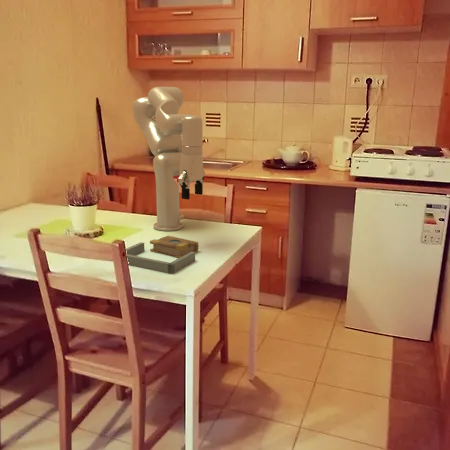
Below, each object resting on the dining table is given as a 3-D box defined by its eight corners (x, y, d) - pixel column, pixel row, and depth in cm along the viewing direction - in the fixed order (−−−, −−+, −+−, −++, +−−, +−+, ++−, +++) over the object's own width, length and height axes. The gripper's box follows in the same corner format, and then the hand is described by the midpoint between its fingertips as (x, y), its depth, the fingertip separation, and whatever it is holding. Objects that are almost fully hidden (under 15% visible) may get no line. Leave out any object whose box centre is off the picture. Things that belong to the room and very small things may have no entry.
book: (149, 252, 177) (149, 239, 175) (169, 244, 186) (169, 232, 184) (181, 260, 169) (181, 246, 168) (200, 251, 178) (200, 238, 177)
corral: (141, 250, 178) (140, 242, 177) (195, 260, 168) (195, 252, 167) (115, 261, 165) (114, 253, 164) (171, 273, 155) (171, 264, 154)
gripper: (195, 147, 187) (195, 191, 192) (170, 152, 172) (171, 199, 177) (212, 148, 184) (212, 193, 188) (188, 153, 169) (188, 202, 174)
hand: (192, 196), depth 183 cm, fingers open, 8 cm apart
